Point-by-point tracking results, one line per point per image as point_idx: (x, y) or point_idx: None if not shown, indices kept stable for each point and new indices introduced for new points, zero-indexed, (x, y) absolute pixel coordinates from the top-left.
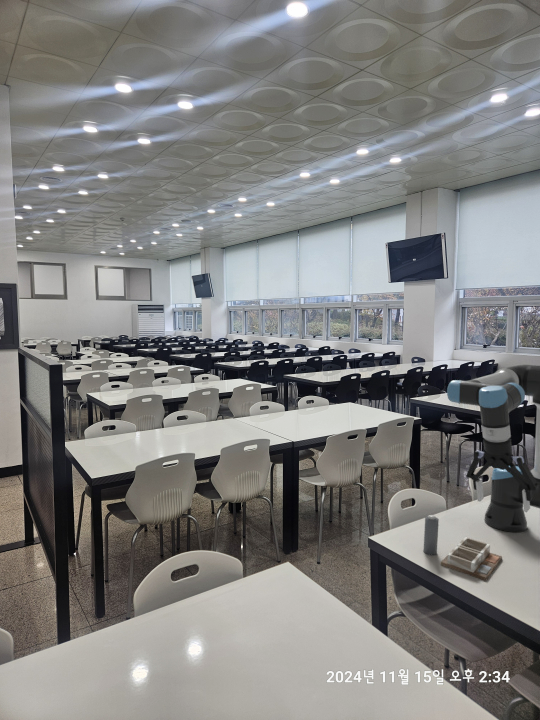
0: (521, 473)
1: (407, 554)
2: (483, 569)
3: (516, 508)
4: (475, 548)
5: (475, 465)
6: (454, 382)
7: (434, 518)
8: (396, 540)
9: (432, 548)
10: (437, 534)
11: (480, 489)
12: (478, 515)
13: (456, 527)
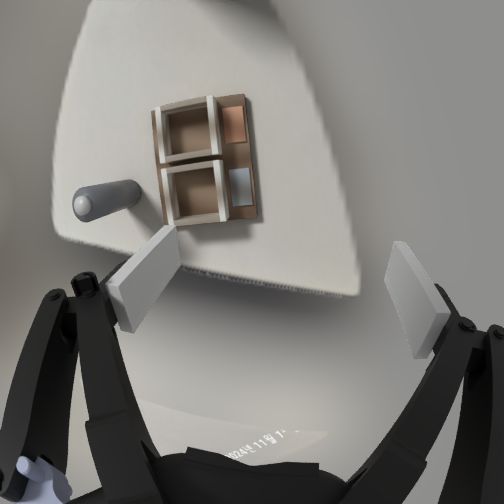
0: None
1: (111, 235)
2: (240, 191)
3: None
4: (186, 109)
5: (66, 411)
6: None
7: (89, 208)
8: None
9: (130, 204)
10: (117, 195)
11: (154, 282)
12: None
13: (119, 46)
